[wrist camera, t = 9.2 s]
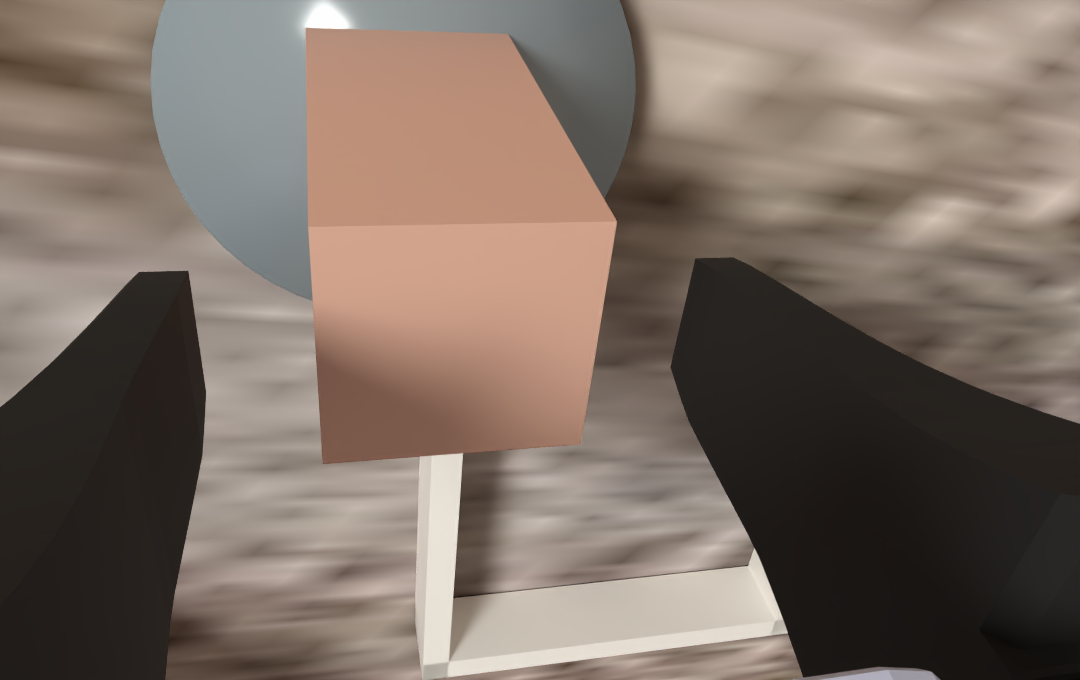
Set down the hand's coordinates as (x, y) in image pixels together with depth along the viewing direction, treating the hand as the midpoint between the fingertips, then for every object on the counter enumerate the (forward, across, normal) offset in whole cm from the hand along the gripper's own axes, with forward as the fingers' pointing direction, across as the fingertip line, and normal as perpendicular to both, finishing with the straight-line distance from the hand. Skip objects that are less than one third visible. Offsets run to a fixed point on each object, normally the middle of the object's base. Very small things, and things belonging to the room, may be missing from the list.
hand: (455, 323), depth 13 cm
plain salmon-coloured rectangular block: (+8, 0, 0) cm, 8 cm away
